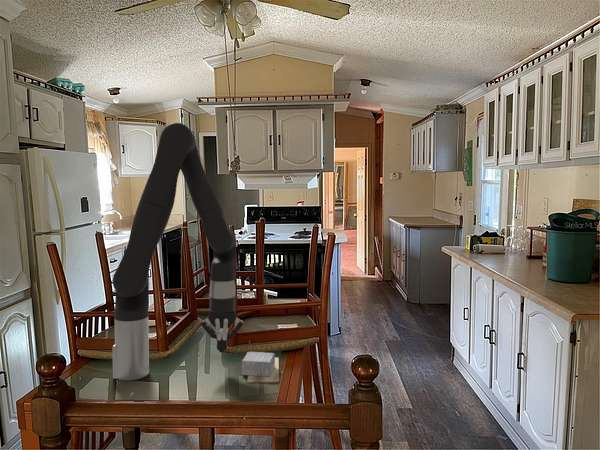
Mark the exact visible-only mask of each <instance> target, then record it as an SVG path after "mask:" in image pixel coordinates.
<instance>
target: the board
mask: <svg viewBox="0 0 600 450" xmlns="http://www.w3.org/2000/svg"><path fill="white" fill-rule="evenodd" d="M246 381H247V383H254V384H255V383H256V384H257V383H280V366H279V357H275V367H274V369H273V371H272V374H271V376H251V375H247V380H246Z"/></svg>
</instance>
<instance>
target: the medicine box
mask: <svg viewBox="0 0 600 450" xmlns="http://www.w3.org/2000/svg"><path fill="white" fill-rule="evenodd" d="M275 358H276V355H275V353H274V352H262V351H248V352H246V355H245V356H244V357H243V359H242V361H241V375H242V376H248V375H251V376H271V374H272V371H273V369H274V367H275Z"/></svg>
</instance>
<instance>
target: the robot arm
mask: <svg viewBox="0 0 600 450" xmlns="http://www.w3.org/2000/svg"><path fill="white" fill-rule="evenodd" d="M202 164H203V163H202V161H201V159H200V155H199V151H198V148H197V141H196V137H195V135H194V133H193V132H192V131H191V129H190V128H189V127H188V126H187V125H185V124H184V123H181V122H172V123H170V124H168V125H166V126H165V127H164V128H163V129H162V131H161V133H160V136H159V142H158V145H157V150H156V155H155V159H154V163H153V166H152V169H151V171H150V173H149V176H148V179H147V181H146V184H145V185H144V189H143V191H142V193H141V196H140V200H139V202H138V205H137V207H136V211H135V213H134V218H133V221H132V225H131V228H130V233H129V238H128V242H127V246H126V248H125V251H124V253H123V256H122V258H121V260H120V262H119V265H118V267H117V269H116V270H115V271H114V274H113V276H112V286H113V288H114V290H115V303H114V305H115V306H114V345H112V379H116V380H118V381H119V380H120V381H125V382H126V381H129V382H130V381H136V380H141V379H143V378H145V377H147V376H148V375H149V374H150V347H149V346H150V343H149V341H150V336H149V334H150V333H149V331H150V330H149V329H150V328H149V325H150V324H149V307H150V299H149V298H150V286H149V285H150V280H149V279H150V277H149V271H150V267H151V263H152V259H153V255H154V252H155V251H156V248H157V246H158V244H159V242H160V240H161V238H162V236H163V234H164V232H165V230H166V227H167V225H168V223H169V220H170V217H171V215H172V214H171V213H172V211H173V209H174V205H175V199H176V194H177V187H178V186H177V185H178V178H179V175H180V171H181V173H182V175H183V177H184V179H185V183H186V187H187V189H188V192H189V195H190V199H191V201H192V203H193V206H194V208H195V210H196V213H197V214H198V217H199V219H200V221H201V223H202V227H203V230H204V235H205V238H206V240H207V243H208V245H209V247H210V248H211V249H212V252H213V253H212V254H213V256H212V257H213V259H212V261H211V265H210V282H209V283H210V284H209V314H208V315H207V317H206V318H205V319H202V321H201V322H200V325H201V327H202V328H203V329H204V330H205V332H206V333H207V334H208V336H209V337H210V338H211V339H215V340H216V350H217V351H218V352H219V353H225V351H227V349H228V340H229V339H233V338H234V336H235V335H236V334H237V333H238V331H239V330H240V329H241V327H243V324H244V320H243V319H240V318H238V315H237V313H236V283H235V273H236V272H235V260H236V259H235V258H236V253H237V252H236V250H237V236H236V233H235V232H234V230H233V229H231V228H229V227H228V226H227V223H226V220H225V218H224V211H223V207H222V206H221V202H220V201H219V199H218V196H217V195H216V193H215V190H214V188H213V185H212V183H211V181H210V180H209V178H208V175H207V174H206V171H205V169H204V167H203V165H202ZM233 324H234V327H233V328H232V329H231V331H230V332H229V328H230V327H231V326H232V325H233ZM211 325H212V326H211ZM213 327H214V328H215V330H214V329H213ZM222 329H223V330H222Z"/></svg>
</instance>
